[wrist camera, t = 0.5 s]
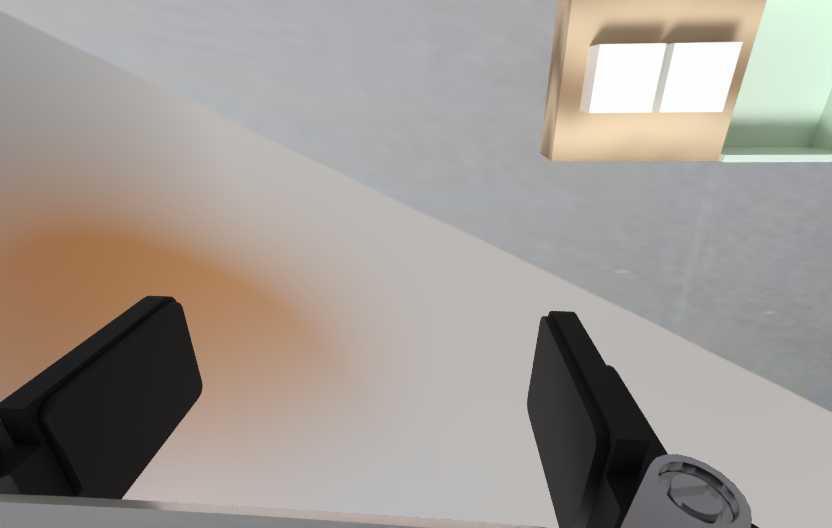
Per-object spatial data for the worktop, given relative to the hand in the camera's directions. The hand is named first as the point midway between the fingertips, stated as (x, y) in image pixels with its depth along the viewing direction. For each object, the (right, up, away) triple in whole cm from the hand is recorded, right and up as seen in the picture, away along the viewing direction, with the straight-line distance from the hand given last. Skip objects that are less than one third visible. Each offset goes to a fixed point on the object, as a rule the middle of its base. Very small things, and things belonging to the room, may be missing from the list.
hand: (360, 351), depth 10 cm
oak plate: (+18, +16, +20) cm, 31 cm away
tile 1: (+15, +15, +17) cm, 27 cm away
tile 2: (+19, +15, +17) cm, 30 cm away
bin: (+28, +16, +19) cm, 38 cm away
